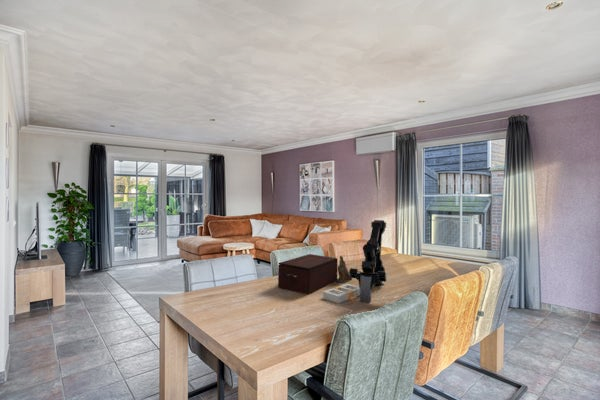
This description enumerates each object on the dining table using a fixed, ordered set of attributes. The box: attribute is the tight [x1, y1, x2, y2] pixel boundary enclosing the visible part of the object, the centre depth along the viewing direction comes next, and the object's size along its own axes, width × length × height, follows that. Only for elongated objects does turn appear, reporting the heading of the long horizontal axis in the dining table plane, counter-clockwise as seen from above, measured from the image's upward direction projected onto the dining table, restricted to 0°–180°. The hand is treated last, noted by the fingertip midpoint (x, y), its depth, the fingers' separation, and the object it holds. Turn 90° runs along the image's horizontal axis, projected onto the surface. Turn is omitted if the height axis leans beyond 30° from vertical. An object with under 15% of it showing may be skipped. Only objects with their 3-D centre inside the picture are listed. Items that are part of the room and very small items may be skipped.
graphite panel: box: [359, 275, 372, 304], centre depth 166 cm, size 3×5×13 cm, turn 67°
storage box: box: [277, 253, 339, 295], centre depth 196 cm, size 39×23×15 cm, turn 147°
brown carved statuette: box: [336, 255, 353, 284], centre depth 204 cm, size 12×6×18 cm, turn 131°
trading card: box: [313, 305, 353, 324], centre depth 149 cm, size 11×1×18 cm
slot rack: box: [322, 283, 360, 304], centre depth 174 cm, size 22×12×4 cm, turn 135°
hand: (365, 289), depth 165 cm, fingers closed on graphite panel, 5 cm apart
